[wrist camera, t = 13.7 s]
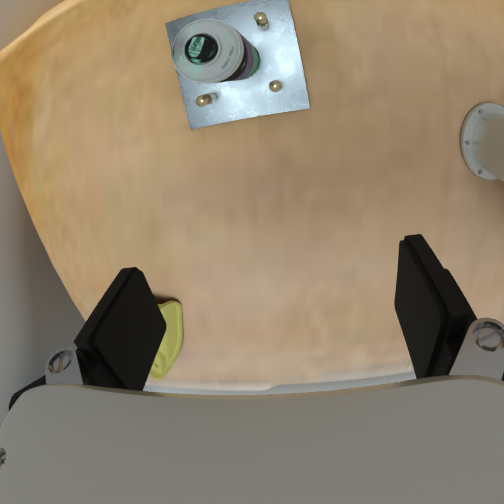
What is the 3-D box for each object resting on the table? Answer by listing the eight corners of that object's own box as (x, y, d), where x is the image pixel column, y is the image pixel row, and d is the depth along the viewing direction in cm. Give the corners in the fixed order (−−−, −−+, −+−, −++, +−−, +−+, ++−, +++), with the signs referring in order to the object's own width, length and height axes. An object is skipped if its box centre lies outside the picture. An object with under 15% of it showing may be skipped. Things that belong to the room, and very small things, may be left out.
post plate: (286, -3, 30) (286, -15, 24) (309, 107, 38) (313, 112, 33) (169, 24, 33) (150, 18, 27) (193, 127, 41) (179, 137, 36)
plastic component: (118, 293, 56) (154, 316, 52) (146, 278, 62) (181, 297, 58) (131, 362, 66) (162, 385, 62) (153, 345, 71) (184, 366, 67)
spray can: (223, 84, 36) (170, 95, 19) (212, 47, 33) (149, 28, 17) (265, 74, 35) (246, 72, 18) (254, 36, 32) (225, 1, 15)
